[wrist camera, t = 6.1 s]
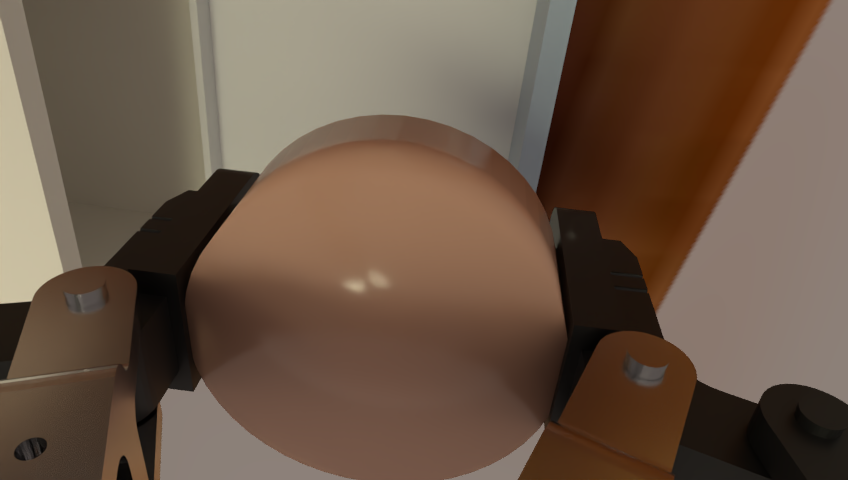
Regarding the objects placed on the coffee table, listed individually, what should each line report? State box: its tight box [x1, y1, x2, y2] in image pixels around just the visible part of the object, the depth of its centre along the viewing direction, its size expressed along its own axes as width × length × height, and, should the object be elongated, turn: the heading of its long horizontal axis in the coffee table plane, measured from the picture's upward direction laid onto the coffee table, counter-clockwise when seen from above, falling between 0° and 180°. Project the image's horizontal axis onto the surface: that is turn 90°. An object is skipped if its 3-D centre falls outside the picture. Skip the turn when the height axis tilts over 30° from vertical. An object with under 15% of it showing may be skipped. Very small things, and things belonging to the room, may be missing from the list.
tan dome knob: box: [185, 114, 568, 480], centre depth 10 cm, size 6×6×2 cm
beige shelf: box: [0, 0, 206, 304], centre depth 25 cm, size 16×15×12 cm
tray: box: [189, 0, 577, 193], centre depth 26 cm, size 14×14×6 cm
